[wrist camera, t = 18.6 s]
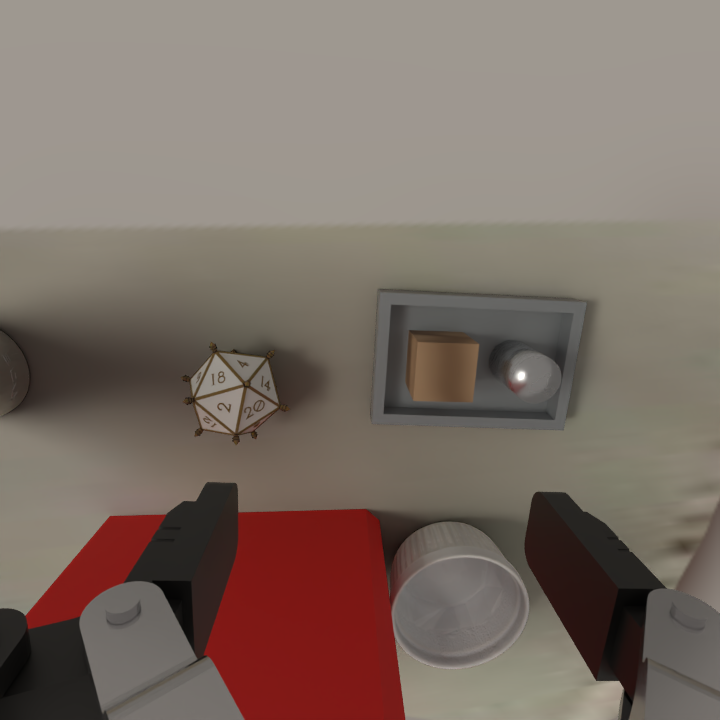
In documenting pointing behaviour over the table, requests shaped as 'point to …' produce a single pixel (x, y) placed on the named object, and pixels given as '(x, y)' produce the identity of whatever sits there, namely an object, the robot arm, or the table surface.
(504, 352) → the steel cylinder
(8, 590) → the table surface
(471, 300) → the charcoal tray
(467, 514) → the table surface
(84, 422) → the table surface
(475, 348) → the walnut cube
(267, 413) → the game die
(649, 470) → the table surface
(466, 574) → the ramekin
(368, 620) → the book
